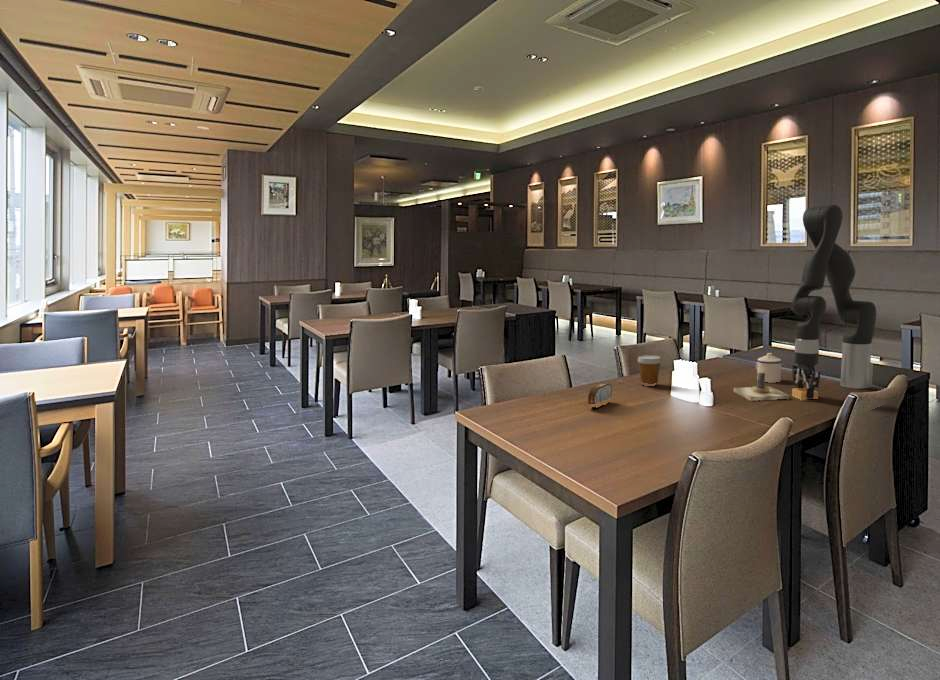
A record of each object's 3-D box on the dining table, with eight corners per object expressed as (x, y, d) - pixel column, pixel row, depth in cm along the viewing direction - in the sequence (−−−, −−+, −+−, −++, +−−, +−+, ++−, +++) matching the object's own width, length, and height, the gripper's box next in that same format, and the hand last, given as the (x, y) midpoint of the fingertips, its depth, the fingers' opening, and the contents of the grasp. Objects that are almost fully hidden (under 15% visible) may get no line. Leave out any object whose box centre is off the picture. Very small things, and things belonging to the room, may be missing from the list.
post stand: (769, 390, 219) (770, 368, 217) (789, 399, 205) (790, 376, 204) (733, 391, 219) (734, 370, 218) (750, 400, 205) (751, 378, 204)
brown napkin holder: (605, 401, 214) (605, 379, 213) (613, 402, 212) (613, 380, 211) (587, 410, 203) (586, 387, 201) (595, 411, 201) (594, 388, 199)
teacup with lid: (786, 382, 230) (787, 354, 229) (767, 384, 229) (767, 355, 227) (765, 376, 242) (766, 349, 240) (746, 378, 240) (747, 351, 238)
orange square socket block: (808, 395, 208) (808, 387, 208) (817, 399, 203) (818, 391, 202) (791, 396, 209) (792, 388, 208) (800, 400, 203) (801, 392, 202)
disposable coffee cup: (664, 387, 231) (664, 358, 229) (640, 388, 231) (640, 359, 229) (657, 382, 240) (657, 354, 238) (634, 383, 240) (634, 355, 239)
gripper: (829, 353, 196) (827, 400, 198) (805, 347, 210) (803, 391, 213) (807, 354, 196) (805, 401, 198) (785, 348, 210) (783, 391, 213)
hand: (804, 395), depth 205 cm, fingers closed on orange square socket block, 6 cm apart
